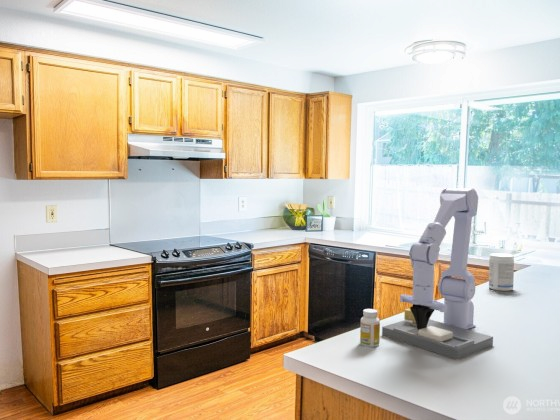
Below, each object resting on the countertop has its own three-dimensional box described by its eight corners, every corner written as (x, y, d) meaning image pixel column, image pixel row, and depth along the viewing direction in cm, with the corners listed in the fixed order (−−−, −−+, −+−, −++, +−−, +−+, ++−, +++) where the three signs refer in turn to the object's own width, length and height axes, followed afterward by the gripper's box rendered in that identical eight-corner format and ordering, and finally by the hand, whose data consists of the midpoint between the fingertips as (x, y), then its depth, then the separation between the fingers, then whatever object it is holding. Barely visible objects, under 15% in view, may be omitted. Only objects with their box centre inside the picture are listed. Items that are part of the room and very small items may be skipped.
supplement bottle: (376, 340, 140) (377, 307, 139) (381, 347, 134) (382, 313, 134) (358, 340, 140) (359, 307, 139) (362, 347, 134) (362, 313, 134)
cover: (430, 331, 140) (430, 325, 140) (452, 337, 135) (452, 331, 134) (418, 335, 136) (418, 329, 136) (440, 342, 131) (440, 336, 131)
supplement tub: (516, 289, 206) (518, 255, 205) (508, 292, 199) (509, 257, 198) (493, 285, 213) (494, 252, 212) (484, 288, 206) (485, 254, 205)
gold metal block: (420, 322, 149) (421, 310, 148) (418, 324, 147) (419, 312, 147) (406, 320, 151) (406, 308, 151) (404, 321, 149) (404, 310, 149)
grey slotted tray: (418, 323, 156) (418, 313, 156) (492, 345, 137) (493, 333, 136) (382, 334, 145) (382, 323, 145) (457, 360, 125) (457, 346, 125)
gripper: (393, 281, 141) (392, 327, 142) (437, 291, 130) (435, 340, 131) (408, 278, 145) (407, 322, 146) (451, 287, 134) (450, 335, 135)
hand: (421, 331), depth 139 cm, fingers closed
